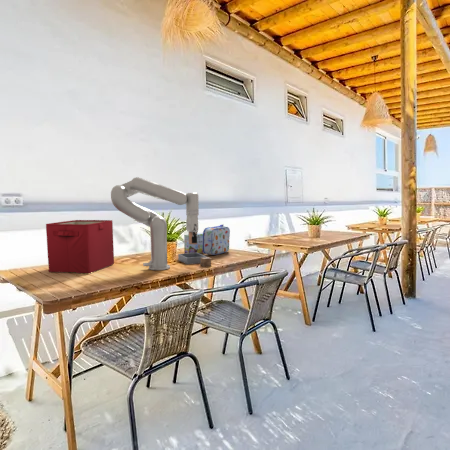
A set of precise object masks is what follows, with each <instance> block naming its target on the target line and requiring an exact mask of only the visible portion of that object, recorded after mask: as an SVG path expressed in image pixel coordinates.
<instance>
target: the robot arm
mask: <svg viewBox="0 0 450 450" xmlns="http://www.w3.org/2000/svg"><path fill="white" fill-rule="evenodd" d="M136 194H143V195H146V196H149V197H151V198H154V199H157V200H158V199H159V200H162V201H163V200H164V201H166V202H169V203H173V204H176V205H177V206H184V205H185V206H186V207H185V210H186V211H185V212H186V213H185V214H186V222H185V223H186V224H185V226H186V227H185V231H187V232H188V234H187V235H189V232H192V243H197V233H199V232H198V231H199V217H198V216H199V215H200V214H199V213H200V212H199V205H200V204H199V193H197V192H186V193H185V192H182V191H179V190H176V189H173V188H170V187H167V186H164V185H162V184H159V183H157V182H154V181H151V180H148V179H145V178H142V177H138V176H137V177H133V178H132V179H131V180H129V181H127V182H125V183H122V184H118V185H115V186H113V187H112V188H111V191H110V199H111V202H112V205H113V206H114V207H115V208H116V210H117V211H119V212H121V213H122V214H124V215H126V216H127V217H129V218H131V219H133V220H134V221H136V222H137V223H140V224H142V225H145V226H146V227H148V228H150V229H149V230H150V260H149V262H143V263H142V264H143V267H148V270H152V271H164V270H168V269H170V268H171V265H169V264H168V242H167V240H168V238H167V237H168V235H167V234H168V233H167V231H168V229H167V228H168V224H167V221H166V219H165V218H164V217H163V216H161V215H159V214H157V213H156V212H155V211H153V210H151V209H149V208H148V207H144V206H141V205H139V204H137V203H135V202H134V201H132V200H131V199H129V197H132V196H134V195H136ZM193 233H194V234H193Z"/></svg>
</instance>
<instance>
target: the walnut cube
mask: <svg viewBox="0 0 450 450" xmlns="http://www.w3.org/2000/svg"><path fill="white" fill-rule="evenodd" d="M200 266H201V267H203V268H205V267H206V266H207V267H212V258H211V257H209V256H206V257H202V258H201V263H200Z"/></svg>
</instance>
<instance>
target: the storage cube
mask: <svg viewBox="0 0 450 450" xmlns="http://www.w3.org/2000/svg"><path fill="white" fill-rule="evenodd" d="M113 223H114V222H113V219H112V220H110V219H107V220H105V219H104V220H103V219H102V220H101V219H74V220H66V221H65V220H64V221H59V222H51V223H45V231H46V232H45V233H46V247H47V248H46V249H47V263H48V265H47V266H48V272H49V273H63V272H76V273H75V274H81V273H90V274H92V273H91V272H93V273H95V272H97V270H98V271H100V270H103V269H106V268H108V267H111V266H112V265H115V256H114V255H115V254H114V253H115V252H114V229H113V228H114V227H113ZM94 271H95V272H94Z"/></svg>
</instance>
